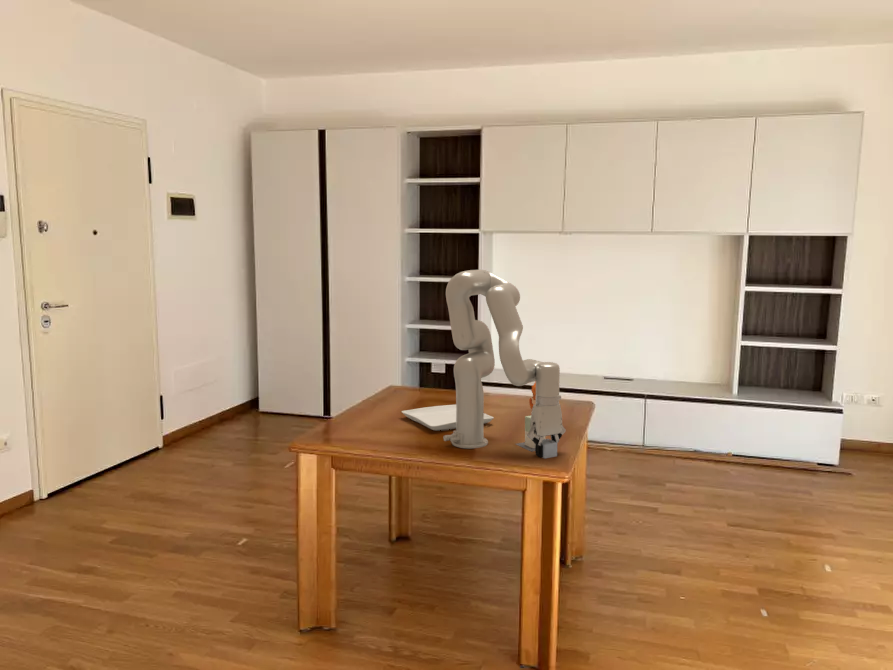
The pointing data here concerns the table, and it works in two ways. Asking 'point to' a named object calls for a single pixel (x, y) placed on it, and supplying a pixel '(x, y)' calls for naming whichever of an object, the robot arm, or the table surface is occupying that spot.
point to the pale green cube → (527, 423)
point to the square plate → (437, 417)
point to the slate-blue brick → (549, 448)
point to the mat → (525, 446)
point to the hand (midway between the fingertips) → (546, 454)
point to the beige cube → (529, 441)
